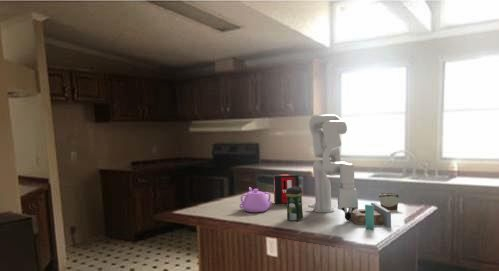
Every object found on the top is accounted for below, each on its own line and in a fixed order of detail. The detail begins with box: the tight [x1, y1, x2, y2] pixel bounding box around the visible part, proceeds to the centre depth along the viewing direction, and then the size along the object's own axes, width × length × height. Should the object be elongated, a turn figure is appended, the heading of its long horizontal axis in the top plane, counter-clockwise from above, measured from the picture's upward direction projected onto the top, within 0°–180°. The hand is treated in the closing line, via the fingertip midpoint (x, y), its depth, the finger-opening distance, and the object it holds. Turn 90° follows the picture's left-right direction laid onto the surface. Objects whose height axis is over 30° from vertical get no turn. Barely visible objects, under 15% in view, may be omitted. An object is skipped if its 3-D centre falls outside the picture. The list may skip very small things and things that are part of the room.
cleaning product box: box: [273, 173, 300, 205], centre depth 241 cm, size 16×9×20 cm, turn 90°
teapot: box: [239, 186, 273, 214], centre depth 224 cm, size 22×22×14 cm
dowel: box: [364, 203, 375, 231], centre depth 172 cm, size 4×4×12 cm
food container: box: [378, 192, 400, 211], centre depth 215 cm, size 12×6×10 cm, turn 84°
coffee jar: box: [286, 186, 304, 222], centre depth 196 cm, size 10×8×19 cm
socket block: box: [350, 208, 385, 226], centre depth 186 cm, size 14×14×5 cm
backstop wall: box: [370, 202, 392, 228], centre depth 186 cm, size 2×24×8 cm, turn 179°
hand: (347, 219), depth 187 cm, fingers closed
